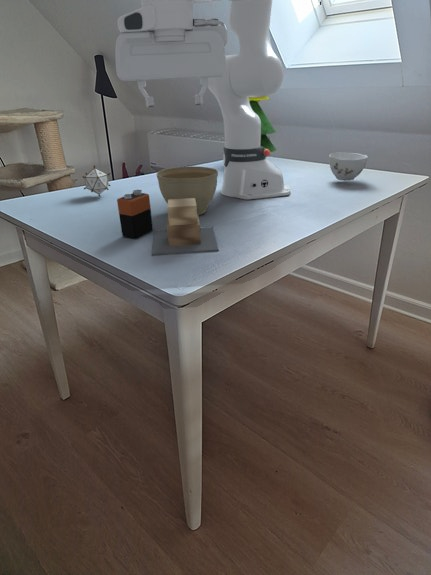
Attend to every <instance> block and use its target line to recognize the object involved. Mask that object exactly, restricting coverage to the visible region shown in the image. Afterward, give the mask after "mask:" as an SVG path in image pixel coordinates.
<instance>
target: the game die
mask: <svg viewBox="0 0 431 575" xmlns="http://www.w3.org/2000/svg"><path fill="white" fill-rule="evenodd" d="M110 175H111V173H110V172H109V173H106V172H104V171H103V170H100V169H98V168H96V165H93V168H92V169H91V170H90V171H89V172H88V173H87V172H85V176H84V175H83V176H82V178H83V179H84V182H85V184H84V185H85V186H84V187H83V190H86V189H87V190H88V191H90V193H94V194H97V195H98V197H99V198H100V197H101V194H102V193H103V192H105V191H108V190H109V187H111V184H110V183H109V176H110Z"/></svg>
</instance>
